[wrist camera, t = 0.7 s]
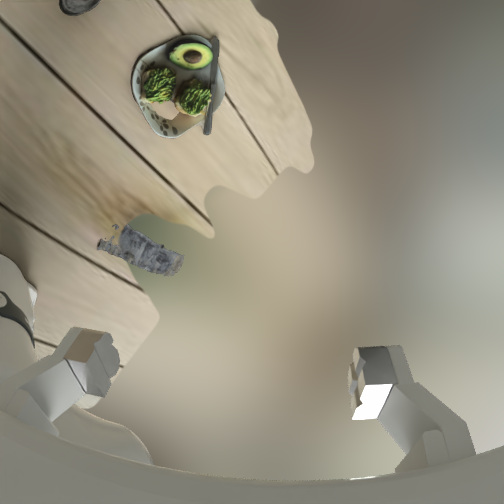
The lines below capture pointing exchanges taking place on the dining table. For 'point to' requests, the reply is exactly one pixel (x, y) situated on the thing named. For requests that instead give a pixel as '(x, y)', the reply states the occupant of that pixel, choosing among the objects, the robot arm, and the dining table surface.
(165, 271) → the driftwood
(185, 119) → the salad plate
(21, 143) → the dining table surface
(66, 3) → the salt shaker
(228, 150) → the dining table surface
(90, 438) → the robot arm
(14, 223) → the dining table surface
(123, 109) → the dining table surface
